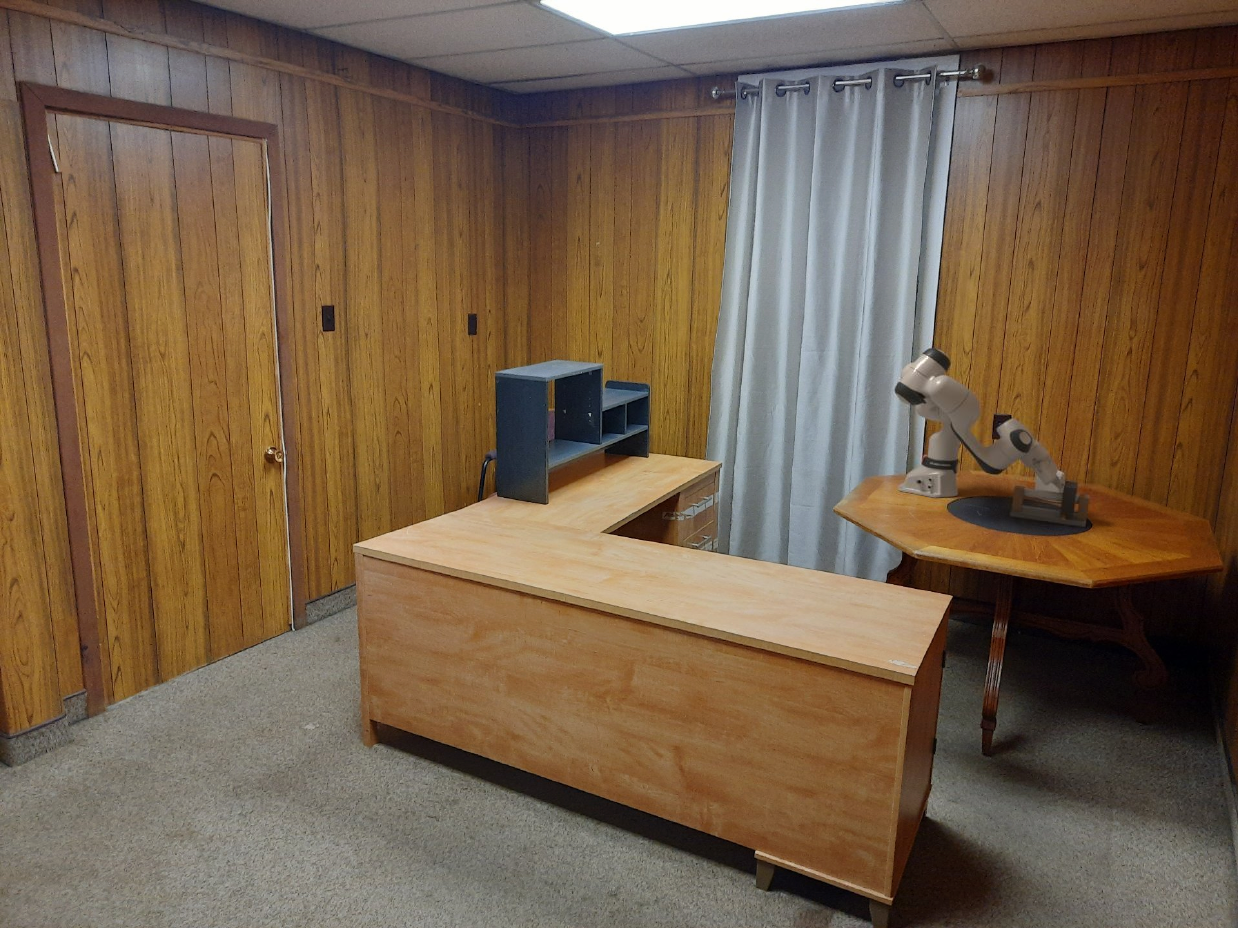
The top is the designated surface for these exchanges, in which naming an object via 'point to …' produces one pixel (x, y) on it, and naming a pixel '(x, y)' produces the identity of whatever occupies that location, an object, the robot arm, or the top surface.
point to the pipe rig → (1048, 514)
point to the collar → (1069, 498)
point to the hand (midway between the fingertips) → (1061, 487)
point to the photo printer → (1050, 485)
